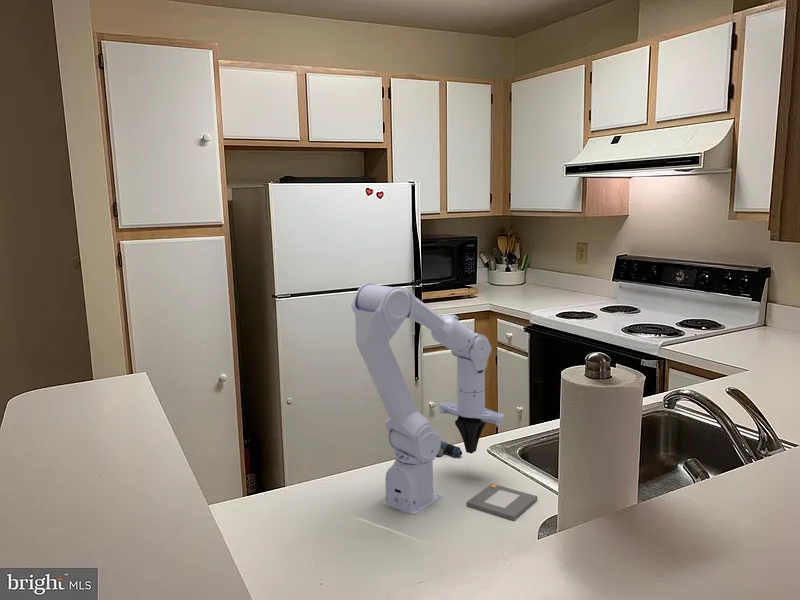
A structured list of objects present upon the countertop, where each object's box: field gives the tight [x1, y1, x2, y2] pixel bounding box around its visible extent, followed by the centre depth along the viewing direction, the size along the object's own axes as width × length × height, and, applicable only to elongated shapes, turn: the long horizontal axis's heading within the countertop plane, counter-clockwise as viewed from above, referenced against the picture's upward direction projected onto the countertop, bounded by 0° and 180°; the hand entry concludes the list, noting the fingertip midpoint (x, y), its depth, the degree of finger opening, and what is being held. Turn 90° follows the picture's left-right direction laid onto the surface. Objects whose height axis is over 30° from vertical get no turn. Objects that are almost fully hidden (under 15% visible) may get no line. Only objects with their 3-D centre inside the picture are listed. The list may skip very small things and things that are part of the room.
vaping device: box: [436, 440, 463, 458], centre depth 145 cm, size 3×5×12 cm
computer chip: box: [465, 483, 538, 522], centre depth 120 cm, size 10×10×1 cm
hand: (471, 451), depth 131 cm, fingers closed
